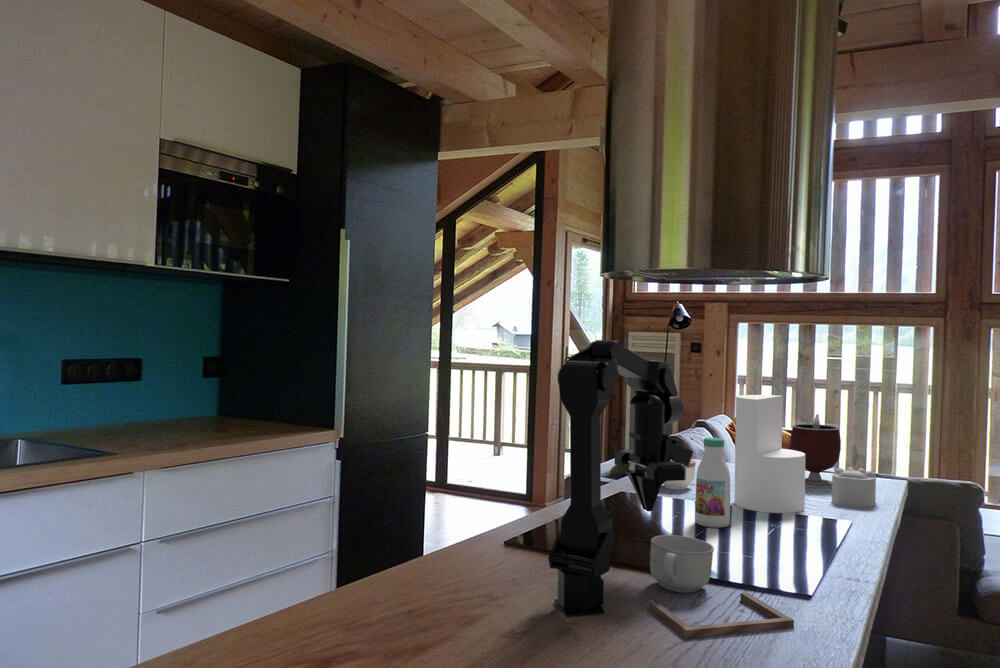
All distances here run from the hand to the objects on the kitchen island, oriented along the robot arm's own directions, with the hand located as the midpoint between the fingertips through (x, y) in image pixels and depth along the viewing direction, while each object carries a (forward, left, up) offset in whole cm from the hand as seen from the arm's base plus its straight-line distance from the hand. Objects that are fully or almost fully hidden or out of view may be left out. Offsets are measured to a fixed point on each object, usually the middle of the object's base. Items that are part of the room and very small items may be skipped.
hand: (647, 510), depth 147 cm
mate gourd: (+86, +66, -11) cm, 109 cm away
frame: (0, -26, -11) cm, 28 cm away
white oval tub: (+81, +43, -11) cm, 92 cm away
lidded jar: (+42, +69, -11) cm, 82 cm away
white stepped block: (+55, +43, -11) cm, 71 cm away
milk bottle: (+30, +28, -11) cm, 43 cm away
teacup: (0, -12, -11) cm, 16 cm away
